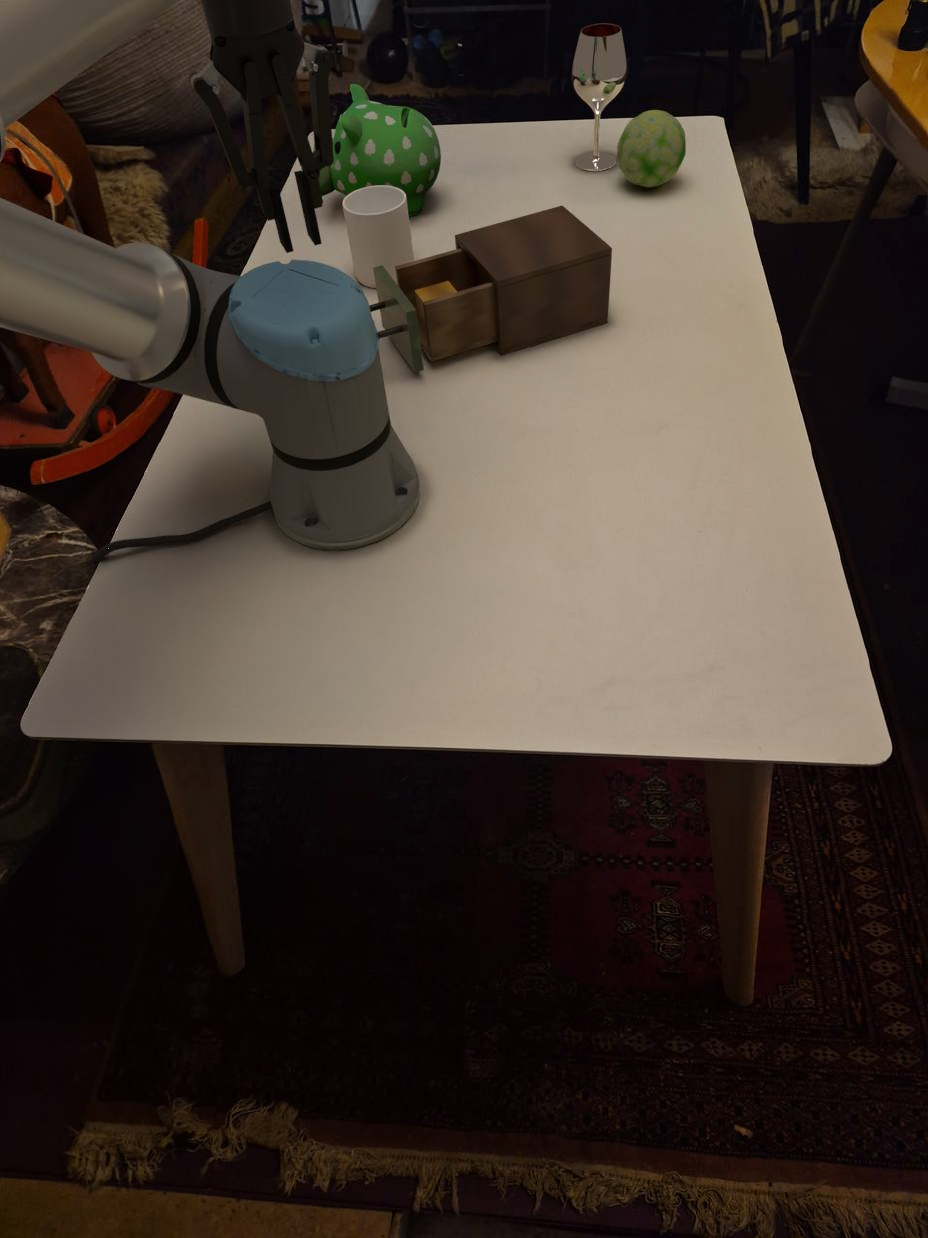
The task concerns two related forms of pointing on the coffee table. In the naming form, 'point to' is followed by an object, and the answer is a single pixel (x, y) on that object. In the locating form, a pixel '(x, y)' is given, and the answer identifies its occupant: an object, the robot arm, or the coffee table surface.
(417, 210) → the piggy bank
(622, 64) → the wineglass
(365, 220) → the cup
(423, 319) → the block
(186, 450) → the coffee table surface
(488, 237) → the cabinet
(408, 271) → the drawer
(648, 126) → the decorative ball
